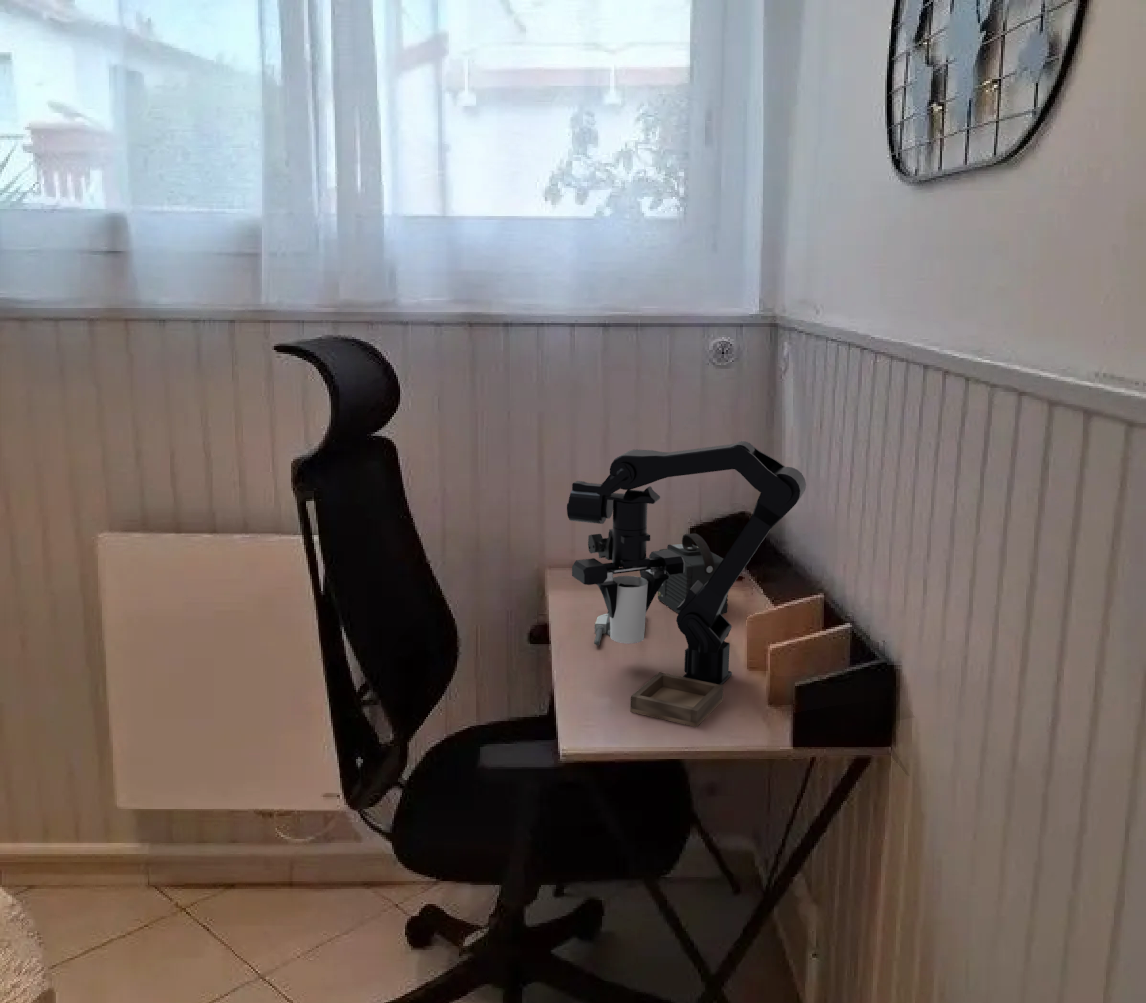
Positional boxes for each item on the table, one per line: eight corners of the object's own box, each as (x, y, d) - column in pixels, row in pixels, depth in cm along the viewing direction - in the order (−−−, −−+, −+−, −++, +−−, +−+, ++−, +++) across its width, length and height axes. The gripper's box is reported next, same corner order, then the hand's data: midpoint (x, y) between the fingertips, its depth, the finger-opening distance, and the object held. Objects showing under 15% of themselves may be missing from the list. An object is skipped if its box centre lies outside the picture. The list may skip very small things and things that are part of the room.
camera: (700, 593, 219) (703, 524, 216) (734, 614, 207) (737, 541, 203) (653, 599, 216) (655, 528, 212) (685, 621, 203) (687, 546, 200)
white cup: (610, 644, 176) (611, 588, 173) (605, 631, 182) (606, 576, 180) (649, 644, 176) (650, 587, 174) (643, 630, 183) (645, 575, 180)
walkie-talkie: (599, 613, 208) (590, 650, 188) (600, 592, 207) (590, 627, 187) (644, 615, 207) (639, 653, 187) (644, 594, 206) (640, 629, 186)
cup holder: (722, 700, 167) (723, 685, 166) (696, 727, 157) (697, 711, 157) (659, 686, 172) (659, 672, 171) (630, 711, 162) (630, 696, 162)
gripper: (656, 510, 185) (654, 594, 189) (559, 520, 178) (558, 607, 182) (687, 525, 176) (684, 613, 179) (586, 536, 168) (585, 628, 172)
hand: (627, 615), depth 178 cm, fingers closed on white cup, 6 cm apart
